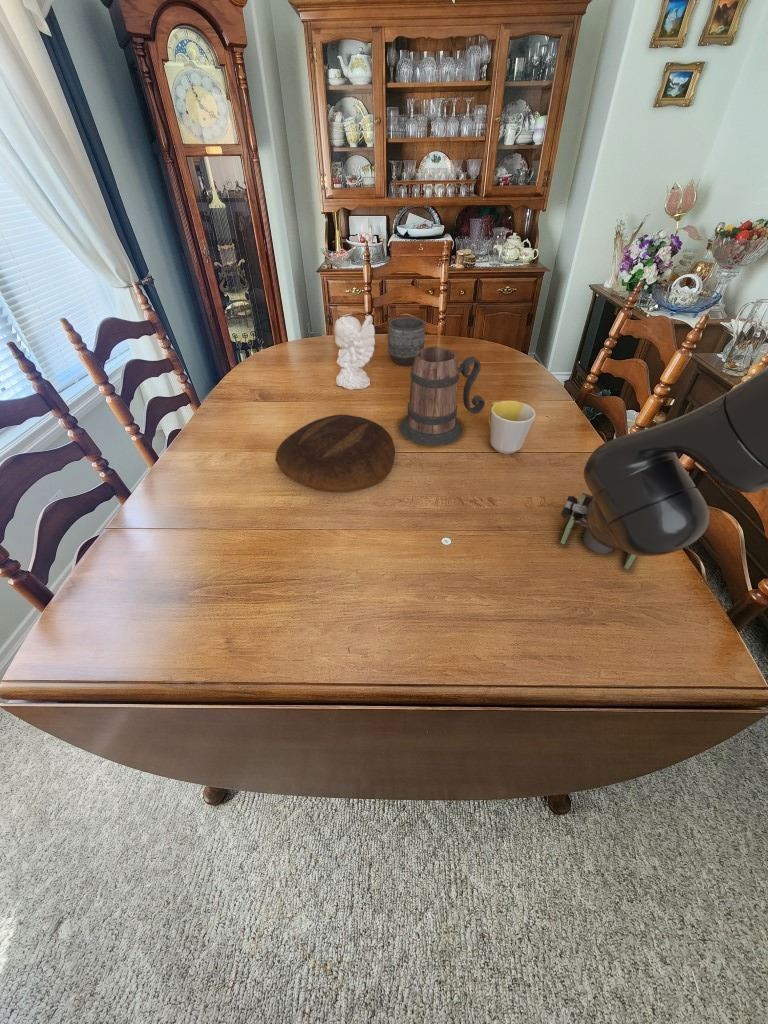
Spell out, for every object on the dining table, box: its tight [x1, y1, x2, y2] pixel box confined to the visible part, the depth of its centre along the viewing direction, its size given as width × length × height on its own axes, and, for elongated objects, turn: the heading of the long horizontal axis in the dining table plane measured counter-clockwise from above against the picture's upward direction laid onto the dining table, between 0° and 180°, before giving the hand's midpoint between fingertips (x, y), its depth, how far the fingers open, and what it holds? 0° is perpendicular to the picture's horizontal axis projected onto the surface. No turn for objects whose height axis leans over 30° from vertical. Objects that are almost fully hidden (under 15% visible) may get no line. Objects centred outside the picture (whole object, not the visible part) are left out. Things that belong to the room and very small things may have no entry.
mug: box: [487, 400, 536, 455], centre depth 105 cm, size 14×10×10 cm
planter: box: [387, 316, 426, 367], centre depth 143 cm, size 12×12×13 cm
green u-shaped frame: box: [559, 492, 638, 570], centre depth 83 cm, size 12×12×4 cm
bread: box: [275, 414, 396, 493], centre depth 101 cm, size 28×27×9 cm
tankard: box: [399, 346, 486, 446], centre depth 109 cm, size 24×17×20 cm
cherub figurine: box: [334, 314, 376, 391], centre depth 130 cm, size 13×12×20 cm
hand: (610, 528), depth 66 cm, fingers open, 8 cm apart
